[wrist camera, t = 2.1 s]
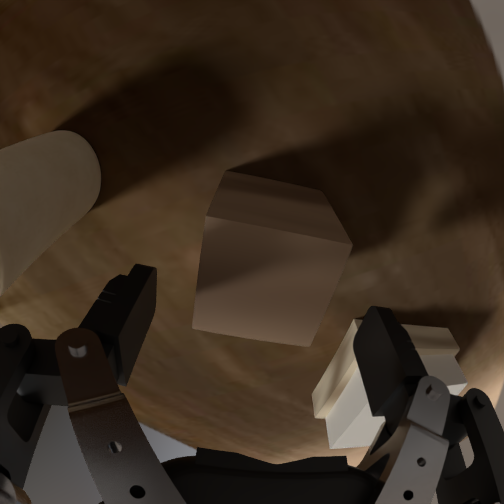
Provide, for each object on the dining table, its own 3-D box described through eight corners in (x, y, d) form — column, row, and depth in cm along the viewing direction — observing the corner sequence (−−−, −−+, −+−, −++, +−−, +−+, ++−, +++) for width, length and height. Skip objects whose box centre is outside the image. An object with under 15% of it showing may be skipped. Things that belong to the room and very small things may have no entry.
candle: (81, 112, 13) (-70, 162, 4) (117, 200, 16) (4, 316, 7) (21, 153, 14) (-101, 221, 5) (54, 228, 17) (-45, 328, 8)
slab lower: (352, 314, 20) (362, 345, 17) (445, 323, 21) (460, 349, 18) (311, 389, 24) (314, 418, 22) (395, 391, 25) (403, 415, 22)
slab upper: (364, 354, 18) (375, 391, 15) (452, 353, 18) (467, 383, 15) (325, 417, 22) (329, 448, 19) (405, 413, 22) (413, 439, 19)
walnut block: (225, 170, 15) (206, 215, 10) (321, 190, 15) (353, 245, 10) (211, 255, 17) (192, 328, 12) (296, 271, 18) (309, 346, 12)
